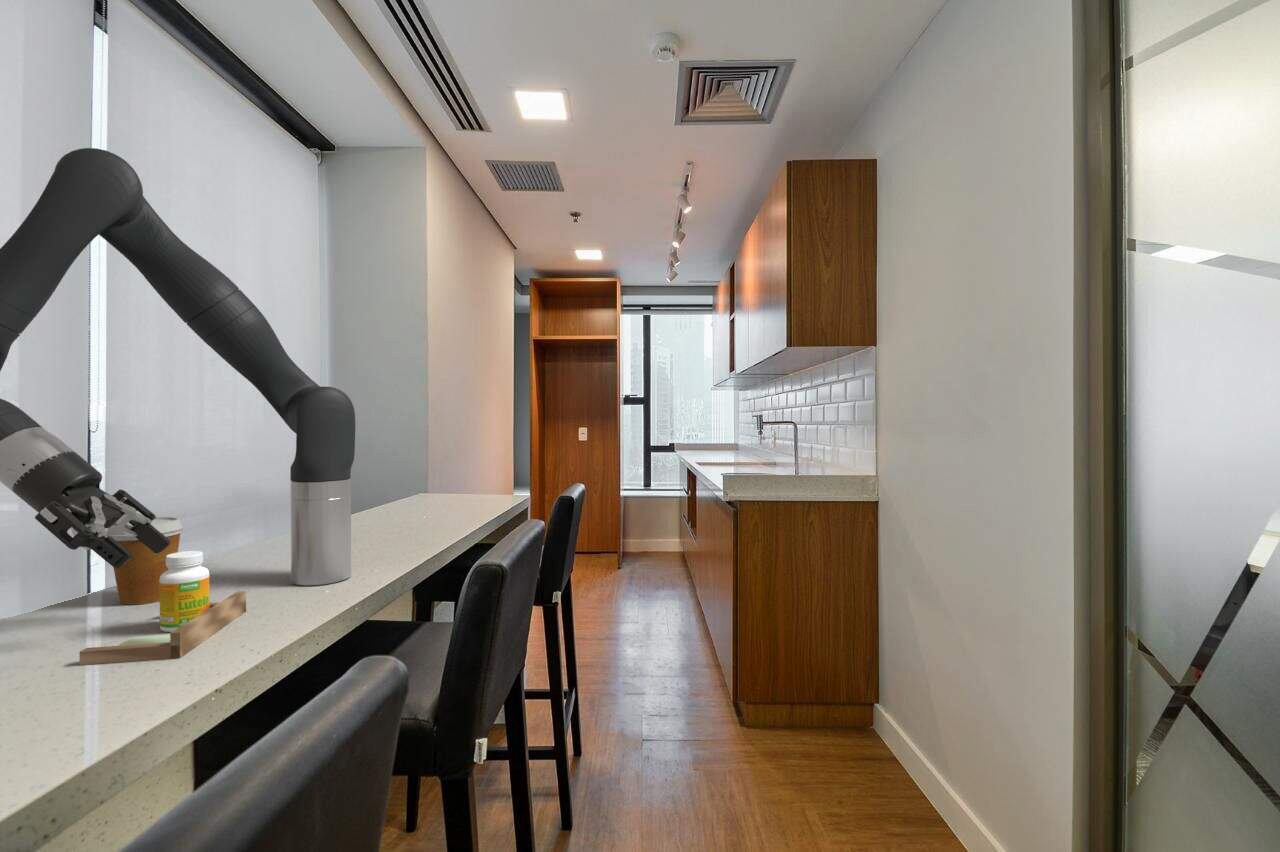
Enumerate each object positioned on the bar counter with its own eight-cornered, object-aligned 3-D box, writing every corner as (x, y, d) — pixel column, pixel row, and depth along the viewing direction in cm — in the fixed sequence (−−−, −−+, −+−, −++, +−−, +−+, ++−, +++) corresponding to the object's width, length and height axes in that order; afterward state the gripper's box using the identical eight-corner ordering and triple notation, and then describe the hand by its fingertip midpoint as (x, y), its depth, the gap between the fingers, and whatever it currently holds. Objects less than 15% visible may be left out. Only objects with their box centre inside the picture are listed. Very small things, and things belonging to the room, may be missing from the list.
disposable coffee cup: (140, 610, 88) (139, 528, 88) (88, 606, 90) (87, 525, 90) (200, 592, 98) (199, 517, 98) (151, 588, 100) (150, 515, 99)
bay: (166, 615, 86) (166, 594, 86) (246, 611, 88) (245, 590, 88) (79, 664, 69) (79, 638, 69) (180, 657, 71) (179, 632, 71)
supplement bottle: (177, 635, 78) (176, 560, 78) (150, 630, 80) (149, 556, 80) (219, 622, 83) (218, 551, 83) (192, 617, 85) (191, 548, 85)
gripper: (23, 452, 72) (135, 545, 74) (104, 447, 86) (196, 525, 88) (-30, 498, 71) (85, 591, 73) (61, 485, 85) (155, 563, 87)
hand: (146, 555), depth 81 cm, fingers open, 8 cm apart
